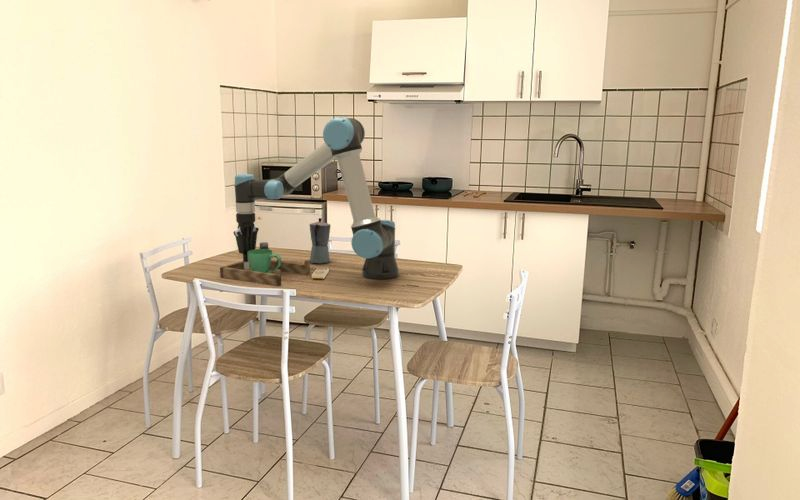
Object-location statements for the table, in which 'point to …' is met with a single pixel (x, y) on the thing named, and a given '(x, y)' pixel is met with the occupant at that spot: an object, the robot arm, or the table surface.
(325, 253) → the moka pot
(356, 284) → the table surface
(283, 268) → the bay
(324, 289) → the table surface
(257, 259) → the mug
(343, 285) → the table surface
